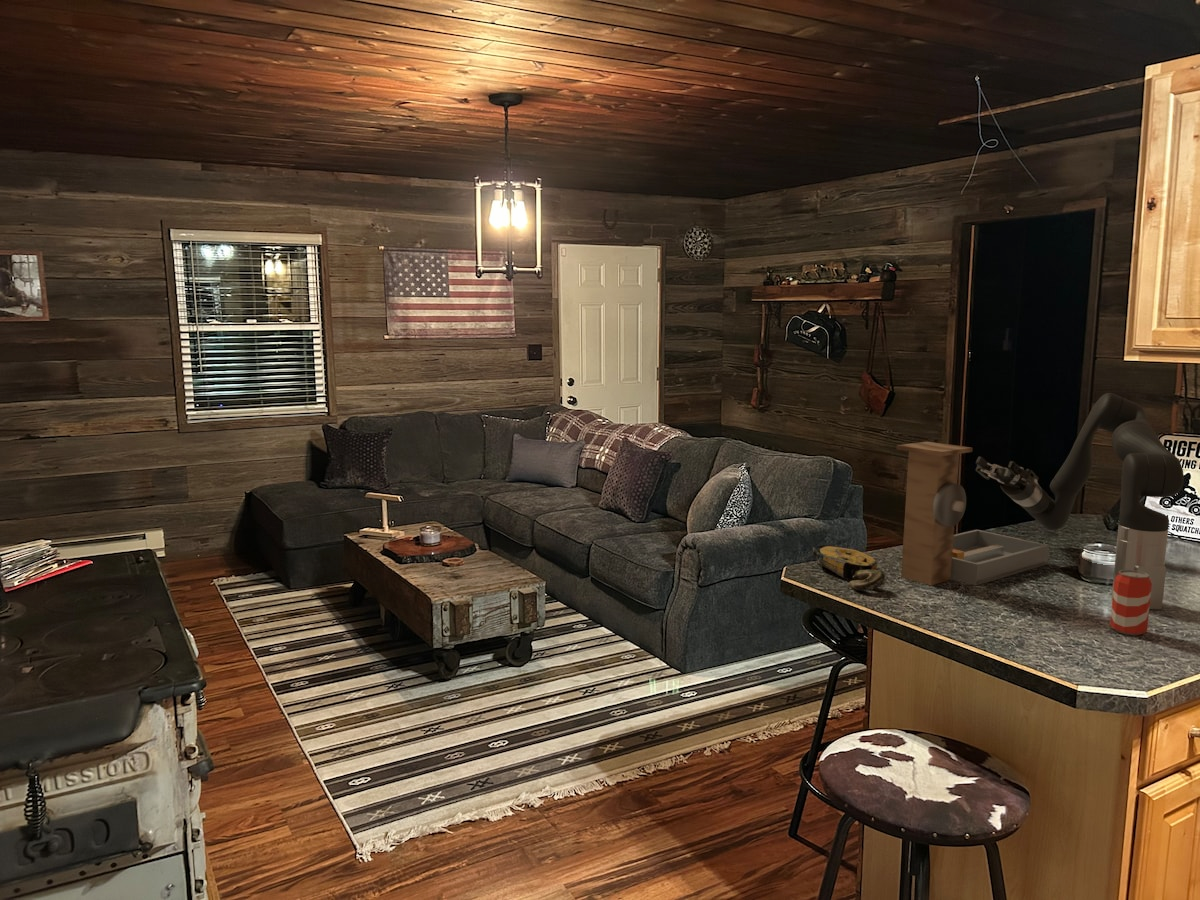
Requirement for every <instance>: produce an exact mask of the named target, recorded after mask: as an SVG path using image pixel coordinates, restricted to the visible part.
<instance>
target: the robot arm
mask: <svg viewBox="0 0 1200 900" xmlns="http://www.w3.org/2000/svg"><path fill="white" fill-rule="evenodd" d="M1098 429H1102V430H1103V431H1106V432H1108V433H1111V434H1112V436H1111V445H1112V448H1113V451H1114V452H1115V454H1116V456H1117V457H1118V458H1119V459H1120V460H1121V461H1122V468H1121V487H1120V489H1121V491H1120V504H1119V505H1120V506H1119V519H1118V527H1117V528H1118V530H1117V539H1116V546H1115V547H1116V548H1115V559H1114V568H1113V576H1112V590H1111V598H1110V599H1111V601H1112V600H1113V590H1114V580H1115V578H1116V577H1117V575H1118V574H1119V571H1120V570H1135V571H1140V572H1144V573H1147V574H1148V575H1149V579H1150V581H1151V583H1152V588H1151V597H1150V607H1149V610H1162V609H1163V602H1164V593H1165V585H1166V584H1165V582H1166V574H1167V567H1166V566H1165V562H1166V553H1167V546H1168V545H1167V543H1168V537H1169V536H1168V534H1169V527H1170V519H1169V517H1168V516H1167V515H1166V514H1164V513H1162V512H1160V511H1156V510H1154V509H1151V508H1149V507H1147V506H1146V505H1144V504H1143V503H1142V502H1141V500H1140V497H1153V498H1168V497H1169V498H1171V497H1174V496H1176V495H1177V494H1178V493H1180V491H1181V490H1182V488H1183V486H1184V480H1185V477H1184V469H1183V465H1182V464H1181V461H1180V459H1178V457H1177V456H1176V455H1175V454H1174V453H1173V452H1171V451H1170V450H1169V449H1167V447H1165V445H1164V444H1163V443H1162V442H1161V440H1160V438H1159V436H1158V435H1157V434H1156V432H1155V430H1154V429H1153V428H1152V427H1151V425H1150V423H1149V422H1148V419H1147V415H1146V411H1145V410H1144V408H1143V406H1141V405H1140V404H1138V403H1137V402H1134V401H1131V400H1129V399H1127V398H1125V397H1122V396H1120V395H1119V394H1115V393H1112V392H1106V393H1103V395H1101V396H1100V397H1099V398H1098V400H1097V401H1096V402H1095V403H1094V405H1093V406H1092V408H1091V410H1090V412H1089V414H1088V416H1087V417H1086V420H1085V421H1084V422H1083V425H1082V427H1081V430H1080V431H1079V433H1078V435H1077V437H1076V439H1075V441H1074V443H1073V445H1072V448H1071V450H1070V452H1069V454H1068V455H1067V457H1066V459H1065V461H1064V462H1063V463H1062V465H1061V467H1060V468H1059V470H1058V471H1057V472H1056V474H1055V476H1054V478H1052V480H1051V481H1050V484H1049V488H1050V490H1051V492H1052V494H1053V495H1054V499H1053V498H1052V497H1051V496H1049V495H1048V493H1047V491H1046V490H1044V489H1043V488H1042V487H1041V486H1040V484H1039V483H1038V481H1039V479H1040V478H1039V476H1038V475H1036V473H1035V472H1034V471H1033V470H1032V469H1031V468H1027V469H1024V467H1022V466H1019V465H1018V464H1017V463H1016V462H1015V461H1014V460H1013V461H1012V460H1010V461H1009V463H1008V466H1007V467H1003V466H1001V465H999V464H996V463H993V464H991V463H990V462H988V461H987V460H986V459H985V457H982V456H978V457H977V459H976V461H975V464H976V468H975V472H977V473H978V475H980V476H981V477H982V478H984V479H985V480H990V479H993V480H996V481H997V482H998V483H999V486H1000V489H1001V490H1002V492H1003V493H1004V494H1005V495H1007V496H1008V498H1010V499H1011V500H1012V501H1013V502H1014V503H1016V504H1018V505H1019V506H1020V507H1021V508H1023V509H1024V510H1025V511H1026V512H1027V513H1028V514H1029V515H1030V516H1031V517H1032V518H1034V519H1035V520H1036V521H1037V522H1038V523H1039V524H1040V525H1041V526H1042V527H1043V528H1045V529H1046V530H1048V531H1057V530H1060V529H1062V528H1063V527H1064V526H1065V525H1066V523H1067V522H1068V520H1069V519H1070V516H1071V512H1072V510H1073V506H1074V504H1075V501H1076V498H1077V495H1078V494H1079V492H1080V491H1081V490H1082V488H1083V487H1084V485H1085V484H1086V482H1087V481H1088V480H1089V478H1090V476H1091V473H1092V469H1093V459H1092V458H1093V457H1092V455H1093V454H1092V453H1093V452H1092V447H1093V440H1094V438H1095V437H1094V436H1095V434H1096V433H1097V430H1098ZM995 471H996V472H995Z"/></svg>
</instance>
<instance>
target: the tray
mask: <svg viewBox="0 0 1200 900" xmlns="http://www.w3.org/2000/svg"><path fill="white" fill-rule="evenodd" d="M992 545H1000V546H1004V547H1005V548H1004V556H1000V557H996V558H992V559H988V560H984V561H981V562H977V563H974V562H970V561H966V560H962V559H958V558H954V557H952V566H951V580H955V581H958V582H963V583H966V584H970V585H974V586H979V585H983V584H985V583H989V582H993V581H996V580H1000V579H1002V578H1006V577H1009V576H1013V575H1018V574H1019V573H1022V572H1027V571H1030V570H1034V569H1036V568H1040V567H1044V566H1047V565H1049V555H1050V544H1045V543H1040V542H1036V541H1032V540H1031V541H1030V540H1026V539H1023V538H1017V537H1013V536H1009V535H1003V534H998V533H994V532H990V531H986V530H985V531H984V530H981V529H973V530H968V531H964V532H960V533H956V534H954V537H953V549H956V550H960V551H964V552H967V551H971V550H975V549H980V548H984V547H988V546H992Z"/></svg>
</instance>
